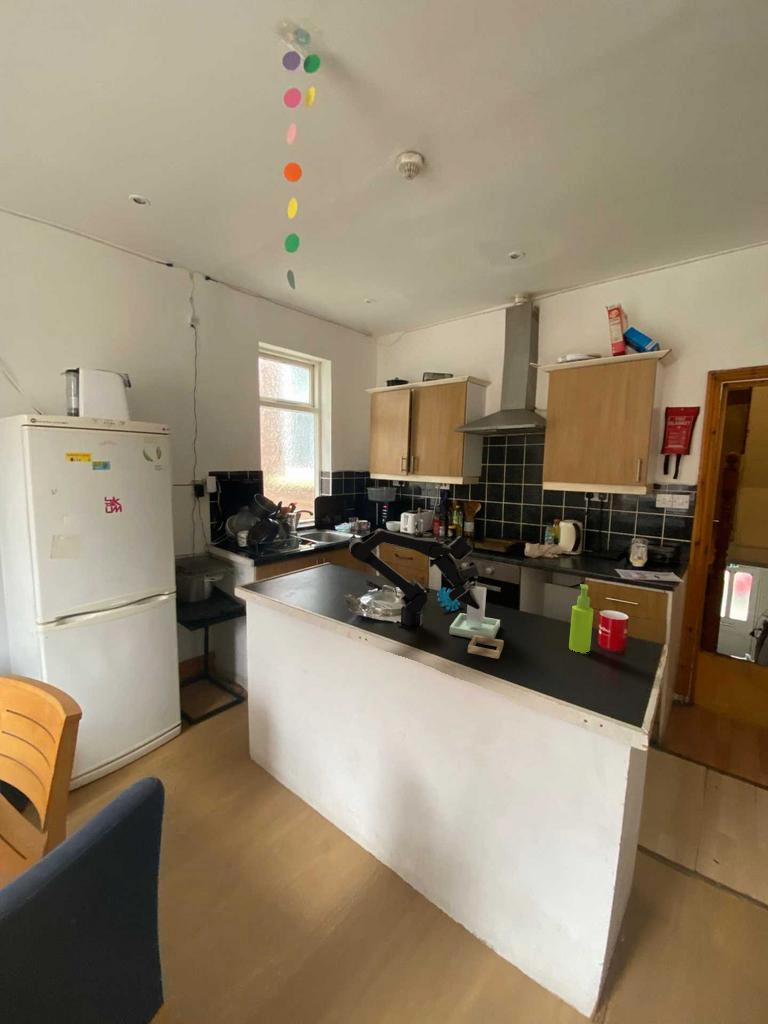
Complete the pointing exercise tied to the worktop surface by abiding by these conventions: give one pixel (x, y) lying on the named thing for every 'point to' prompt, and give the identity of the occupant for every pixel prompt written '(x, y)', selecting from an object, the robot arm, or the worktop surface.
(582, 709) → the worktop surface
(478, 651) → the wooden collar
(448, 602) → the gear
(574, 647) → the soap dispenser
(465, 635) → the tray
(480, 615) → the stop block
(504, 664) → the worktop surface
